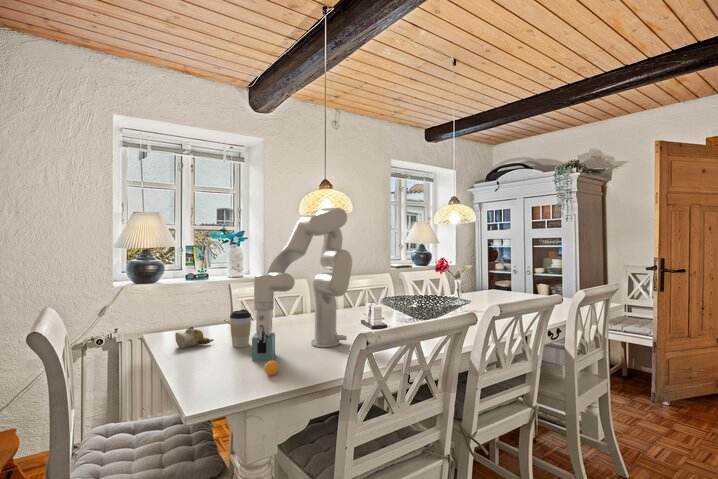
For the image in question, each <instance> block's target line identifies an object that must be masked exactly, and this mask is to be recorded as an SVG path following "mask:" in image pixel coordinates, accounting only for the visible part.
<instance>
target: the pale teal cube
mask: <svg viewBox="0 0 718 479" xmlns="http://www.w3.org/2000/svg"><path fill="white" fill-rule="evenodd" d="M263 338H264V337H263ZM265 342H266V353H257V343H258V336H257V334H256V332H255V333H254V335H252V337H251V361H252V362H253V361H255V362H257V361H261V362H262V361H271V360H273V359H274V358H275V355H276V332H271V334H270V335H269V336H267V335H266V340H265ZM273 361H274V360H273Z"/></svg>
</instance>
